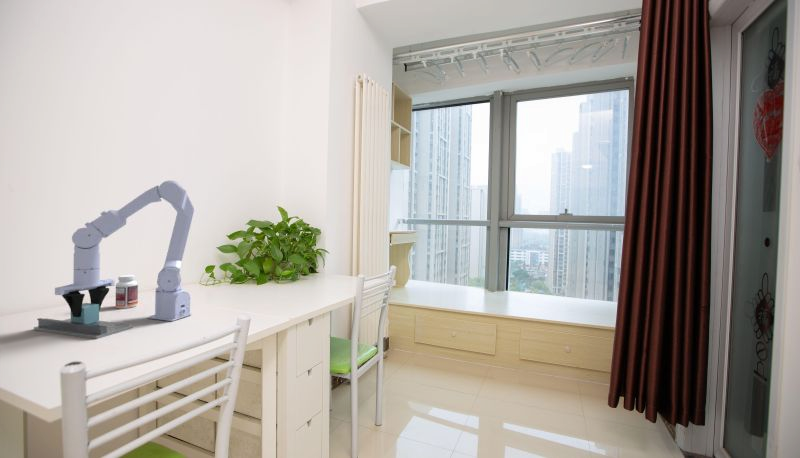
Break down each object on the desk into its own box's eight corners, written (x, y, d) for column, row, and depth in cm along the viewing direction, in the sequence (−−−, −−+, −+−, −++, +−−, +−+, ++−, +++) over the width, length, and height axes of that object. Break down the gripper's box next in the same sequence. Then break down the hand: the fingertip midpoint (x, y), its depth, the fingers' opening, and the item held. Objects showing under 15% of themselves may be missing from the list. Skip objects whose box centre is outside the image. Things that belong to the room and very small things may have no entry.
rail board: (133, 327, 101) (133, 317, 101) (96, 339, 91) (96, 327, 91) (74, 320, 106) (74, 310, 105) (33, 330, 96) (33, 319, 96)
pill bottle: (137, 303, 127) (137, 273, 126) (138, 307, 122) (138, 276, 122) (115, 305, 123) (115, 275, 122) (115, 309, 118) (115, 277, 118)
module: (100, 320, 103) (100, 304, 103) (84, 325, 99) (84, 307, 99) (87, 318, 104) (87, 302, 104) (70, 323, 100) (70, 306, 100)
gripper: (102, 264, 109) (101, 307, 109) (46, 271, 95) (46, 319, 95) (120, 266, 107) (119, 309, 108) (66, 272, 93) (65, 322, 94)
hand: (86, 314), depth 101 cm, fingers closed on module, 4 cm apart
